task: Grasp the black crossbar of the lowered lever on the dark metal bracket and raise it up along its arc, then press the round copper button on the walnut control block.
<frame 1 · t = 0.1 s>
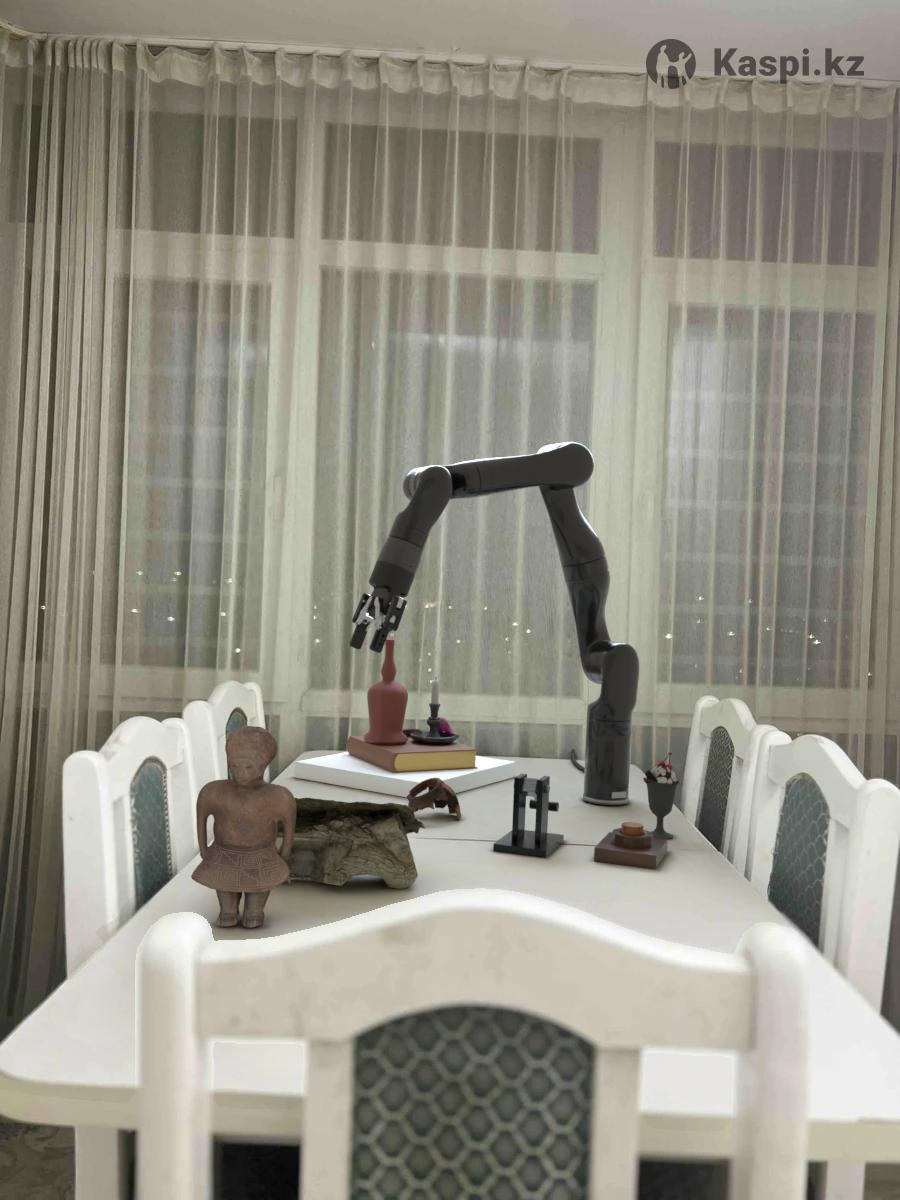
hand: (364, 649, 189), 31 cm above the table, tool tilted 20°, fingers open, 8 cm apart
button: (632, 829, 174), point 4 cm above the table, slide at 0.1 cm
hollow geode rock: (327, 881, 153), on the table
decorative still life: (412, 776, 237), on the table
lever: (537, 796, 182), point 8 cm above the table, hinge at -28.0°
button block: (631, 856, 174), on the table
clay figurine: (241, 924, 133), on the table
sundae: (659, 837, 189), on the table
brown broken pot shard: (435, 817, 198), on the table
bracket: (529, 846, 178), on the table
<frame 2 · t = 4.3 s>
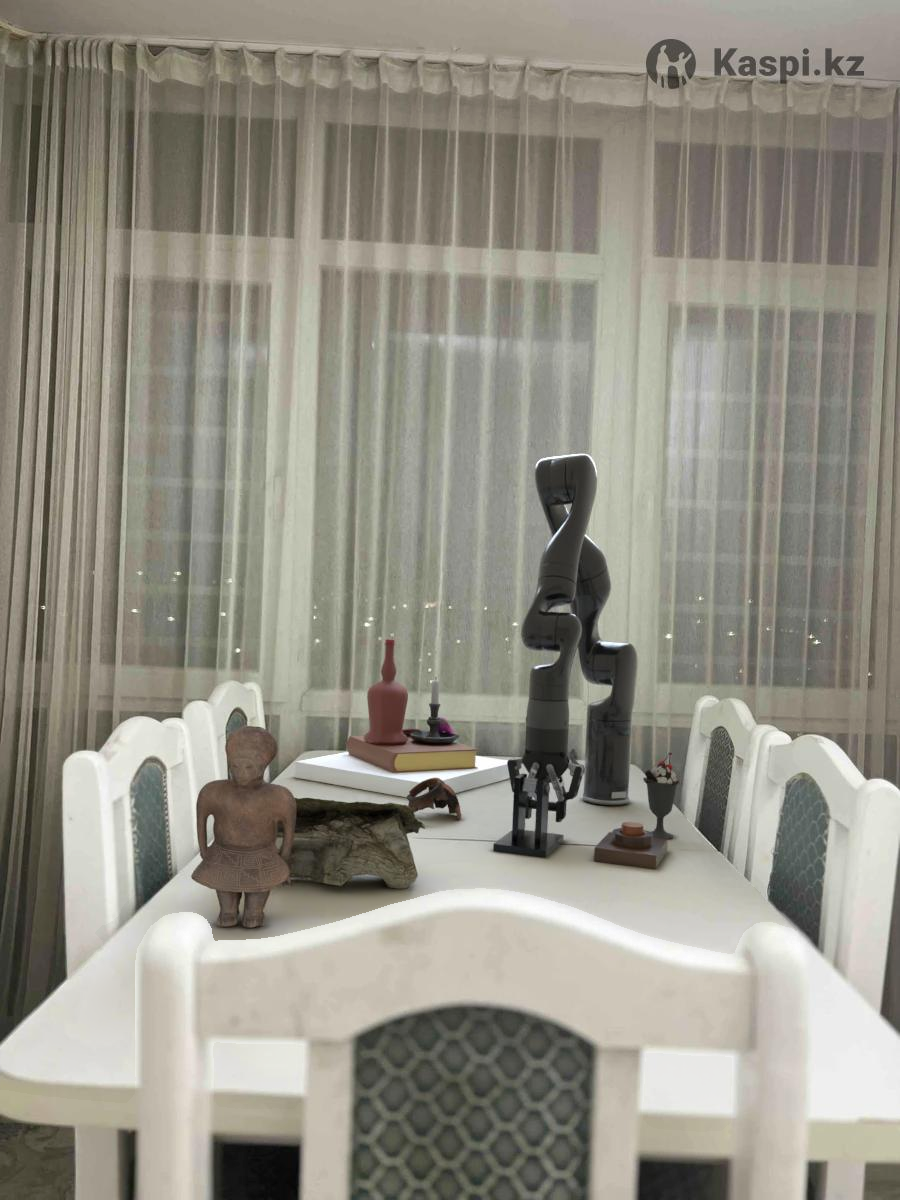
hand: (543, 819, 186), 3 cm above the table, tool pointing down, fingers closed on lever, 5 cm apart
lever: (537, 796, 182), point 8 cm above the table, hinge at -28.0°, touching gripper
everything else where it was.
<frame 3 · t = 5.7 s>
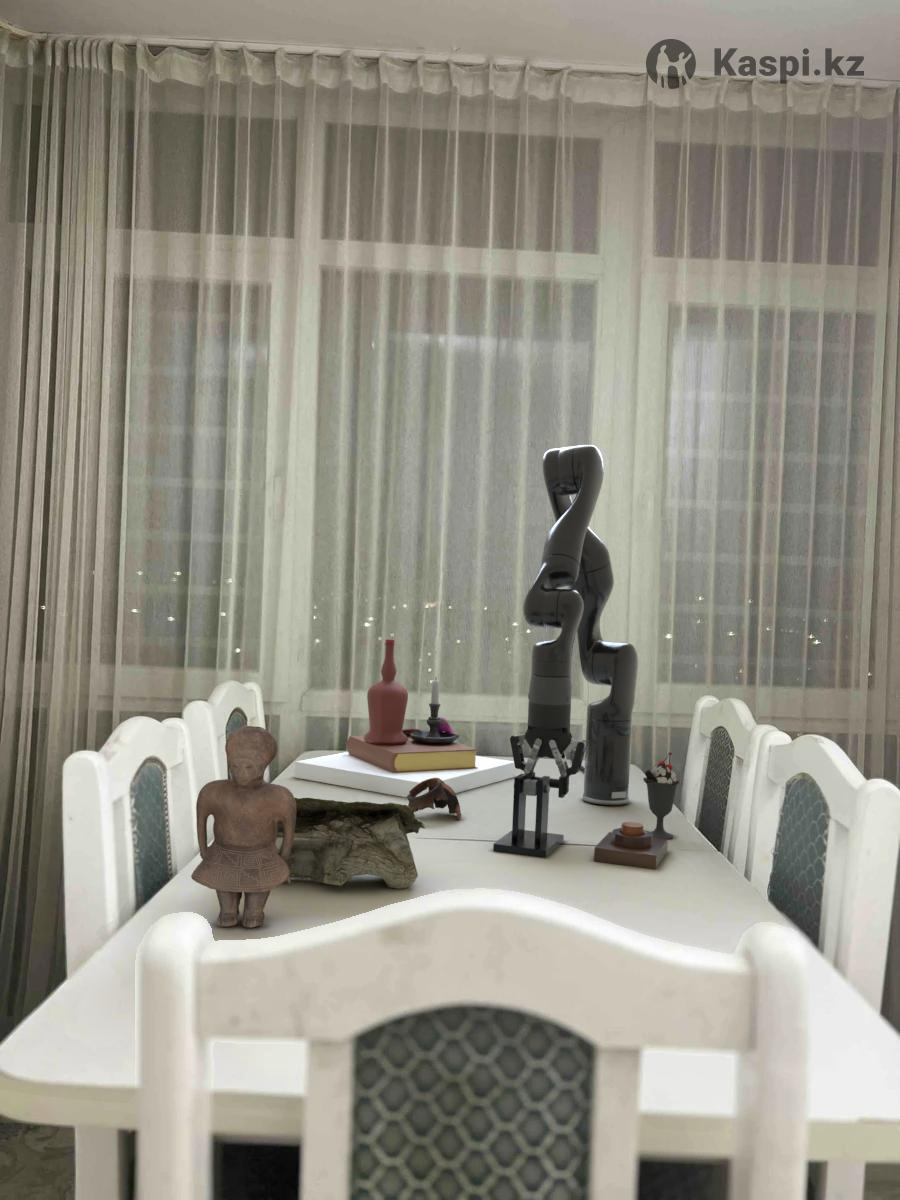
hand: (546, 794, 187), 7 cm above the table, tool pointing down, fingers closed on lever, 5 cm apart
lever: (538, 784, 182), point 10 cm above the table, hinge at -4.4°, touching gripper
everything else where it was.
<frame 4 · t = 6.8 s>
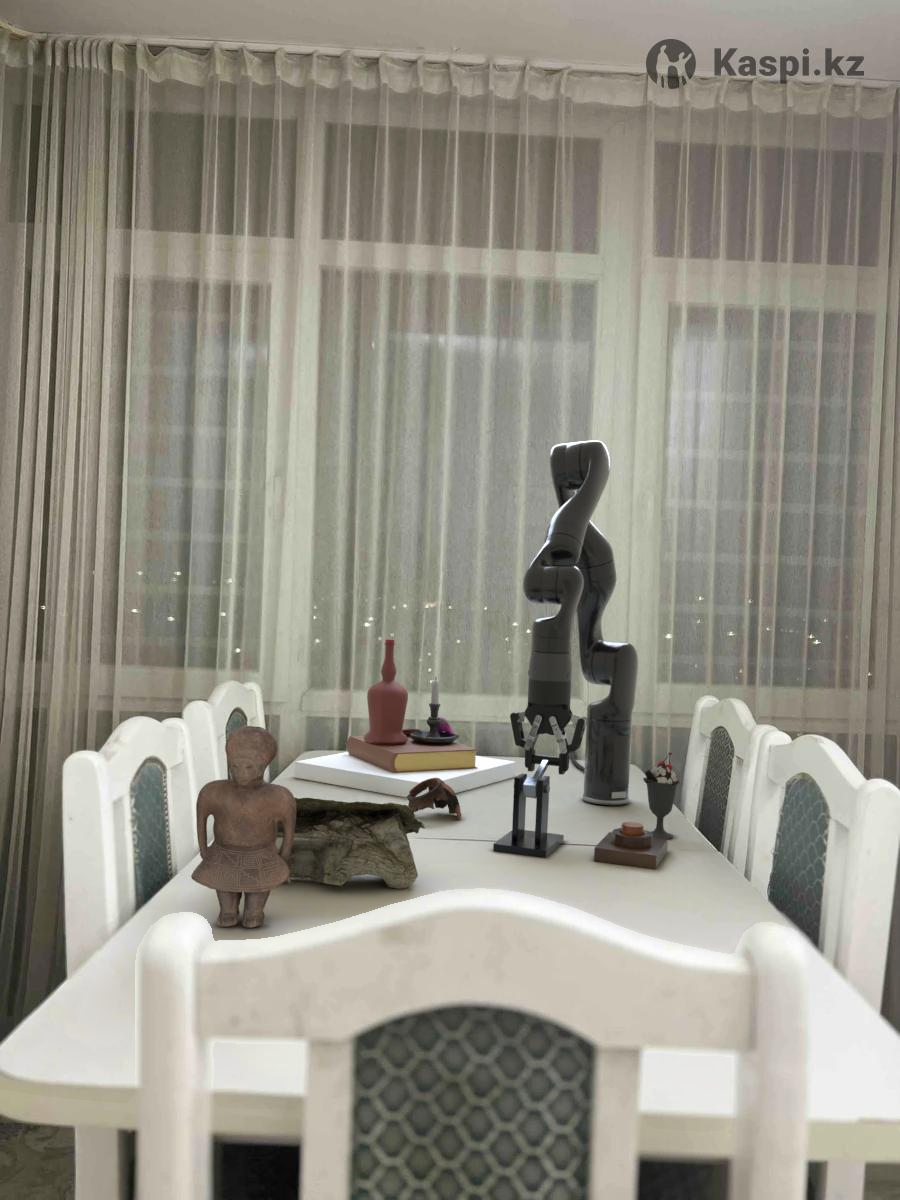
hand: (546, 771, 187), 11 cm above the table, tool pointing down, fingers closed on lever, 5 cm apart
lever: (539, 774, 182), point 12 cm above the table, hinge at 18.9°, touching gripper
everything else where it was.
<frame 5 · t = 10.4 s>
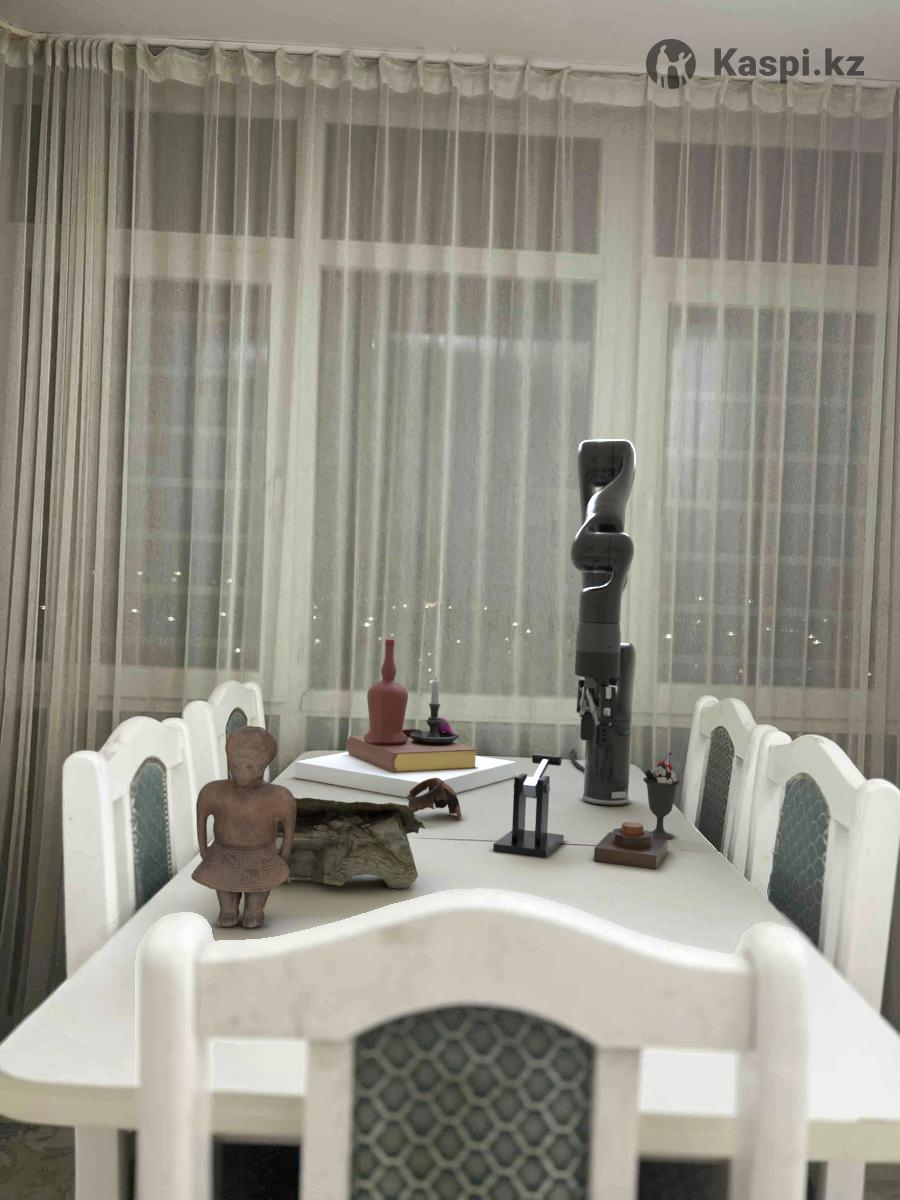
hand: (593, 743, 179), 18 cm above the table, tool pointing down, fingers open, 8 cm apart
lever: (539, 774, 182), point 12 cm above the table, hinge at 19.5°
everything else where it was.
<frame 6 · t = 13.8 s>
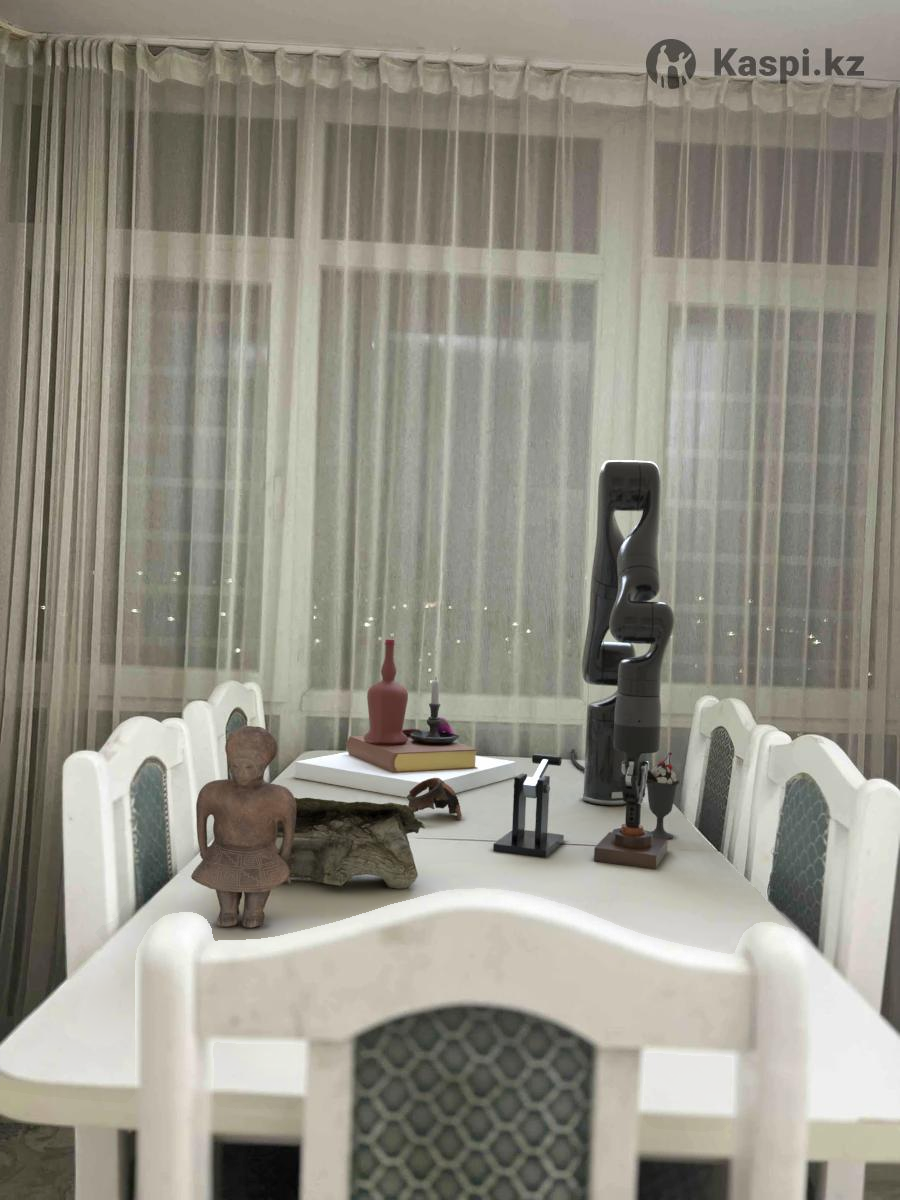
hand: (632, 825, 174), 5 cm above the table, tool pointing down, fingers closed
button: (632, 831, 174), point 4 cm above the table, slide at -0.2 cm, touching gripper
everything else where it was.
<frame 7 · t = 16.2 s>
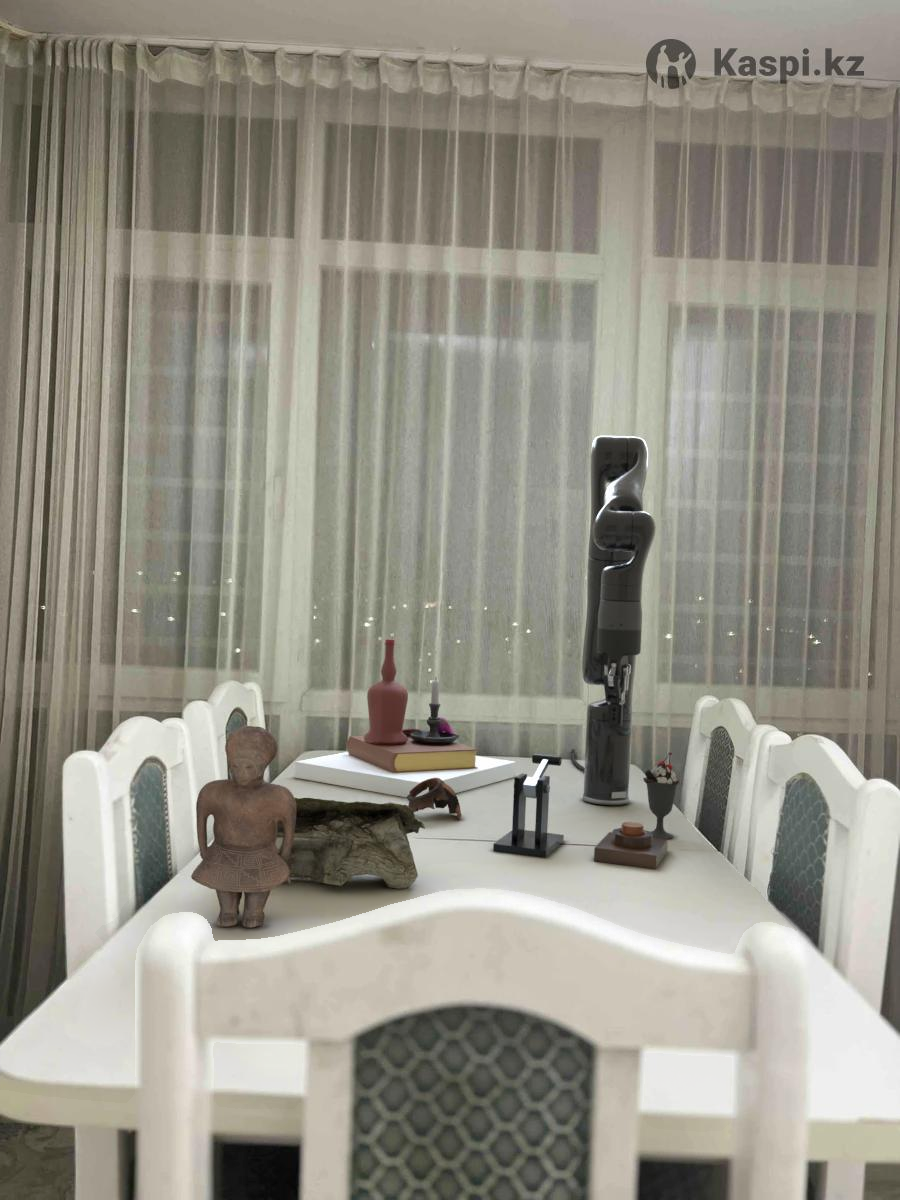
hand: (615, 725, 182), 20 cm above the table, tool pointing down, fingers closed
button: (632, 829, 174), point 4 cm above the table, slide at 0.1 cm
everything else where it was.
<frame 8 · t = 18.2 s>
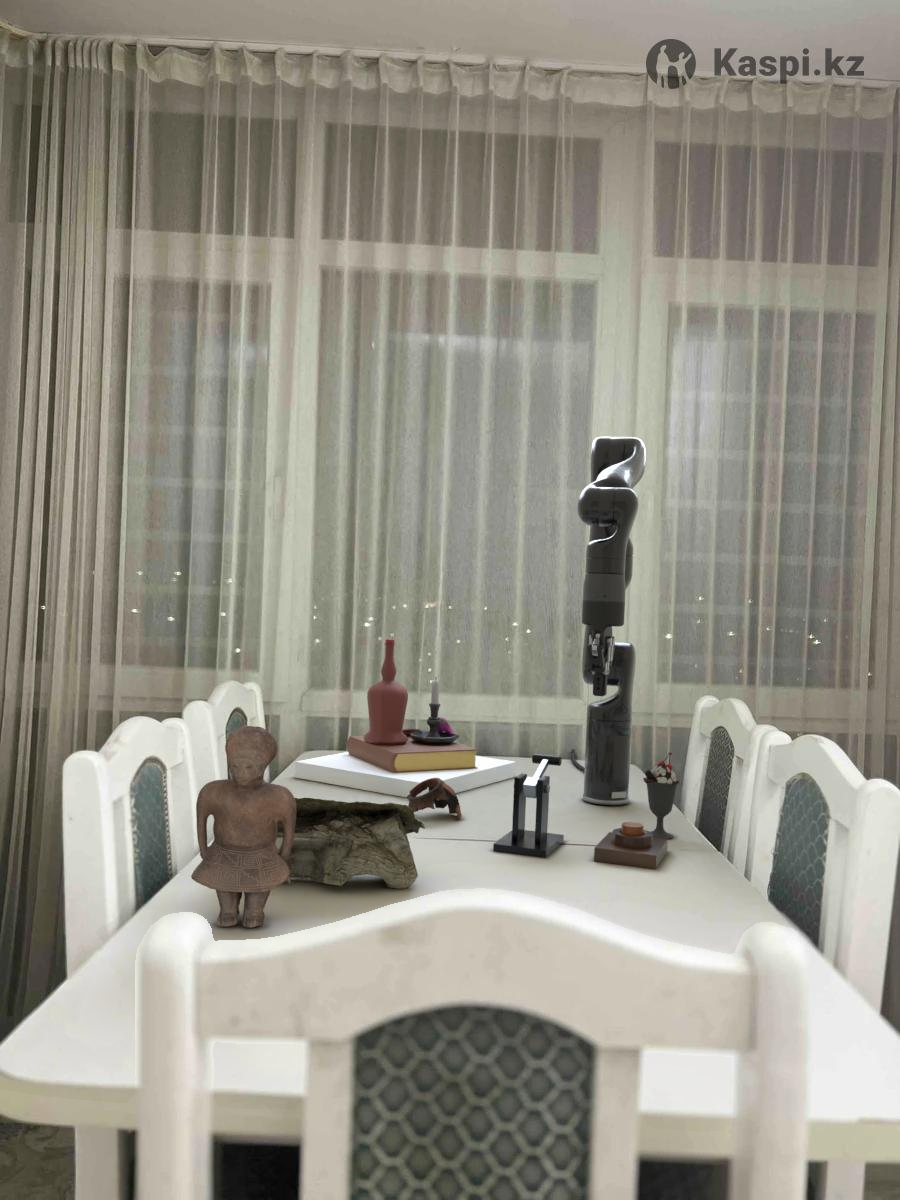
hand: (599, 695, 188), 25 cm above the table, tool pointing down, fingers closed
nothing on the table moved.
at the end: lever at +20° (first picture: -28°); button pushed in 1.1 cm at the most during the clip, back to where it started at the end; button slide at 0.1 cm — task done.
